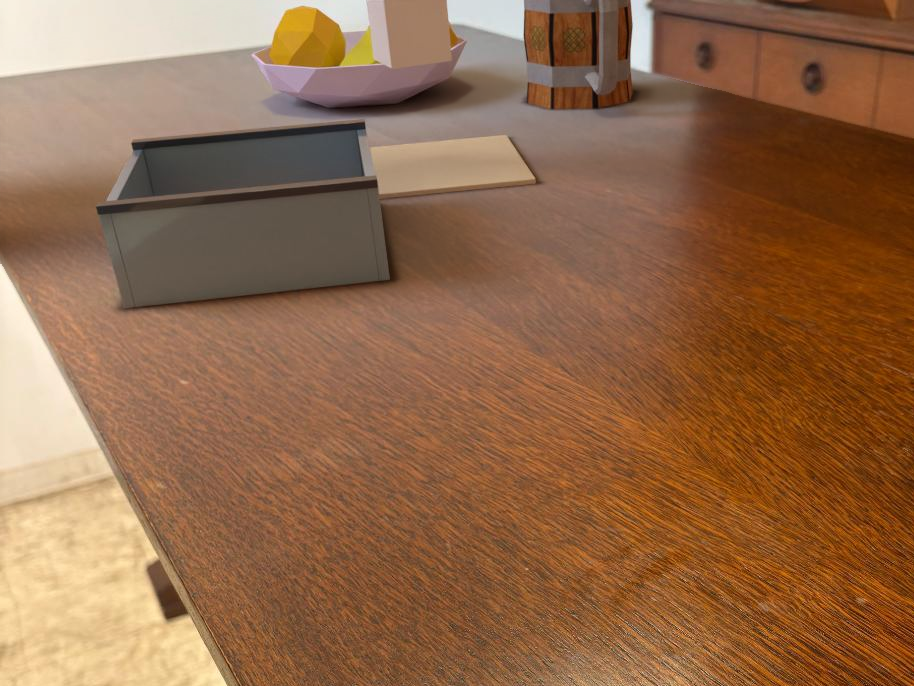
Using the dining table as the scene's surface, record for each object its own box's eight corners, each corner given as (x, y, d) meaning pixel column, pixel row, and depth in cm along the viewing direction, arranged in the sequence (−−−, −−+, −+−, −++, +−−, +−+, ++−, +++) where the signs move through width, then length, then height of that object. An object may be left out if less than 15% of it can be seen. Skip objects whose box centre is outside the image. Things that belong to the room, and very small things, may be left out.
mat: (322, 205, 100) (321, 199, 99) (319, 156, 115) (318, 151, 114) (535, 184, 102) (535, 178, 102) (506, 139, 117) (506, 134, 117)
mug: (514, 92, 137) (506, -42, 128) (616, 82, 139) (615, -51, 131) (553, 126, 121) (547, -24, 113) (668, 114, 123) (671, -35, 115)
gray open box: (123, 310, 80) (95, 206, 76) (154, 228, 96) (132, 139, 92) (390, 281, 82) (377, 179, 78) (375, 206, 99) (364, 118, 94)
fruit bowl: (386, 127, 124) (373, 19, 118) (217, 110, 137) (197, 11, 130) (517, 79, 144) (512, -16, 137) (359, 67, 156) (347, -21, 150)
